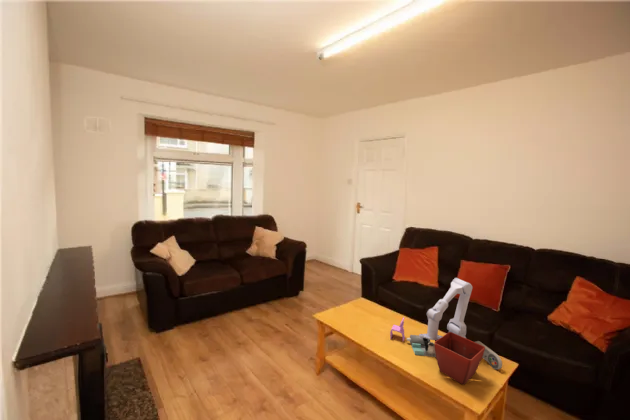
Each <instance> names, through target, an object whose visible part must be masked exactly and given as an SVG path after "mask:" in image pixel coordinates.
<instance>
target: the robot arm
mask: <svg viewBox="0 0 630 420" xmlns="http://www.w3.org/2000/svg"><path fill="white" fill-rule="evenodd" d="M473 288H474V287H473V285H472V284H471V283H470V282H468V281H465V280H463V279H460V278H458V277H454V279H452V281H451V282H450V287H449V289H448V291H447V292H446V293H445V295H444V296H443V298H440V299H439V300H438V301H437V302H436V303H435V305H434V306H433V307H431V308H429V309H428V310H427V312H426V316H427V320H428V322H427V331H426V332H427V333H419V338H420V339H423V341H424V344H425V350H426V351H427V350H428V343H429V342H428V339H430V341H434V342H435V341H437V340H438V339H440V338H441V337H443V336H444V335H443V336H442V335H440V334H439V324H440V321H441V320H442V318H443V313H444V312H445V311H446V310H447V309H448V307H449V303H450V302H451V301H452V300H453V299H454V297H455V296H457V295H459V297H458V301H457V304H456V309H455V312H454V317H453V318H450V319H449V322H448V323H447V325H446V329H447V330H448V333H449V332H452V333H454V334H457V335H459V336H461V337H464V338H466V339H467V337H466V336H467V325H466V324H465V322H464V321H465V316H466V313H467V309H468V304H469V301H470V298H471V295H472V291H473Z"/></svg>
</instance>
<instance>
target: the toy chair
mask: <svg viewBox="0 0 630 420" xmlns="http://www.w3.org/2000/svg"><path fill="white" fill-rule="evenodd" d="M404 320H405V317H402V319H401V321H400V324H399V325H396V324H393V325H392V327H391V329H390V332H389V335H390V336H389V337H390V338H389V339H390V340H392V339H393V332H396V333H400V334H401V337H402V342H404V341H405V339H406V336H405V328H404V325H405V324H404V323H405V321H404Z"/></svg>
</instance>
